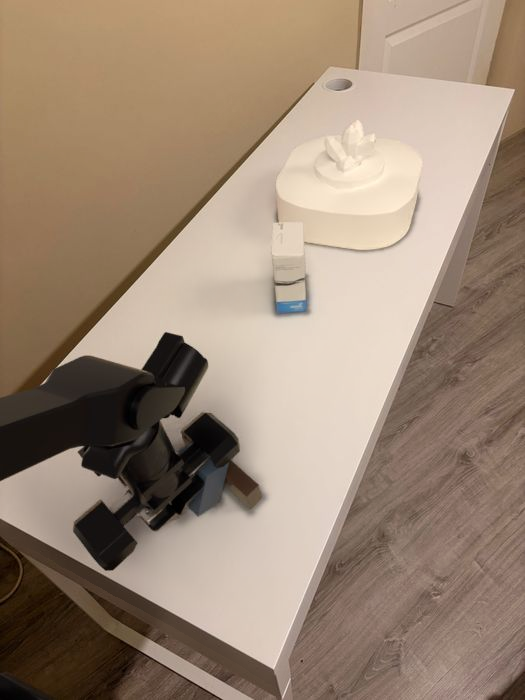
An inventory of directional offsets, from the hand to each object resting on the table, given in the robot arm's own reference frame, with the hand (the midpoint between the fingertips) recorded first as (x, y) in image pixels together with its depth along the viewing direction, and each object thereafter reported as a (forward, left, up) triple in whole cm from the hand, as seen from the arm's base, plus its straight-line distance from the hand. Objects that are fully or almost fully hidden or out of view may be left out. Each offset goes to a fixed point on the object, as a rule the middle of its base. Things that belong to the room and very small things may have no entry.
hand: (177, 513), depth 60 cm
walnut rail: (+7, 0, -1) cm, 7 cm away
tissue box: (+62, +23, -1) cm, 66 cm away
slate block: (+4, 0, +3) cm, 5 cm away
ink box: (+37, +15, -1) cm, 40 cm away
